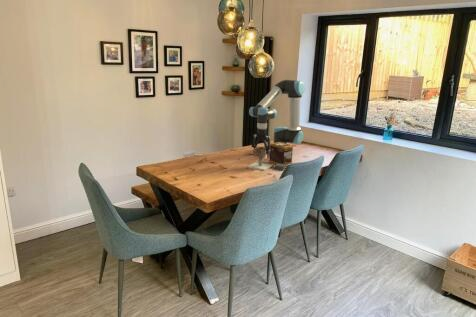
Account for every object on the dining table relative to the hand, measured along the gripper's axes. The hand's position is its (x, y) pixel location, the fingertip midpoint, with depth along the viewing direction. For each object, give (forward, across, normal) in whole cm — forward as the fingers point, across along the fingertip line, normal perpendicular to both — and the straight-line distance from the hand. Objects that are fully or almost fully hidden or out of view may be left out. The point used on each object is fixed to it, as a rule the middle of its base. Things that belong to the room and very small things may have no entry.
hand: (260, 157), depth 280 cm
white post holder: (+8, 0, 0) cm, 8 cm away
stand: (+8, +15, +4) cm, 18 cm away
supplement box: (+8, +9, +20) cm, 23 cm away
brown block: (-1, 0, 0) cm, 1 cm away
